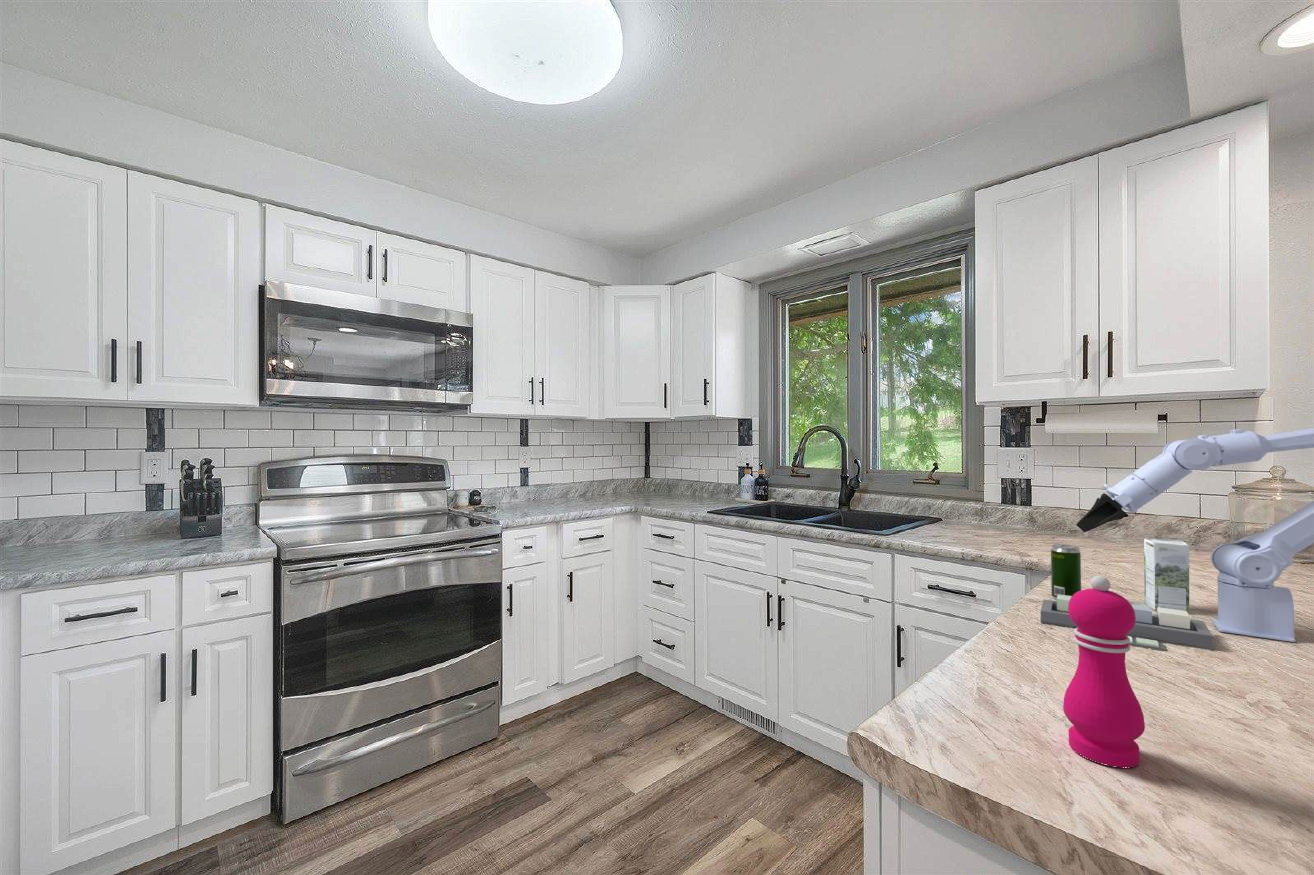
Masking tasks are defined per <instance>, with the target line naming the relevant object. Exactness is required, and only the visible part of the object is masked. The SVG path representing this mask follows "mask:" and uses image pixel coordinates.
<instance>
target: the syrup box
mask: <svg viewBox="0 0 1314 875" xmlns="http://www.w3.org/2000/svg"><path fill="white" fill-rule="evenodd" d="M1143 554H1144V555H1143V559H1144V561H1143V562H1144V563H1143V564H1144V569H1143V570H1144V575H1143V576H1144V604H1145V606H1150V608H1151V610H1154V611H1157V607H1159V608H1167V609H1174V610H1182V611H1187V613H1188V614H1190V545H1189V544H1188V543H1187V542H1185V541H1184V540H1183V541H1182V540H1179V539H1164V538H1162V539H1161V538H1144V540H1143Z"/></svg>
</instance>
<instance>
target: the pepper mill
mask: <svg viewBox="0 0 1314 875" xmlns="http://www.w3.org/2000/svg"><path fill="white" fill-rule="evenodd" d="M1090 586H1091V588H1086V589H1081V591H1078V592H1076V593H1075V594H1074V595H1073V596H1072V597H1071V598H1070V601H1069V604H1068V614H1069V616H1070V618H1071V620H1072V621H1073V622H1074V623H1075V624H1076V625H1077V627H1078V628H1073V633H1074V637H1073V641H1074V642H1075V643H1076V644H1077V646H1078V663H1077V667H1076V671H1075V673H1074V675H1073V677H1072V678H1071V681H1070V683H1068V684H1069V685H1068V686H1067V688H1066V689H1065V694H1064V696H1063V703H1062V704H1063V705H1062V711H1063V713H1064V715H1065V717H1066V718H1067V720H1068V721H1069V722H1070V723H1071V724H1072V726H1070V727H1069V728H1068V745H1069V747H1070V746H1071V747H1070V749H1071V748H1072V749H1073V750H1075V751H1076V752H1077V753H1078V754H1081V755H1082V756H1084V757H1086V758H1088V759H1091V760H1093V761H1096V762H1099V763H1103V764H1107V765H1109V766H1116V767H1122V768H1121V769H1129V768H1128V767H1133V768H1135V767H1134V766H1136V765H1137V766H1138V765H1140V762H1141V760H1140V758H1141V757H1140V747H1139V744H1138V742H1136V740H1137V739H1138V738H1140V737H1141V736H1142V735H1143V734H1144V732H1145V729H1146V725H1145V716H1144V712H1143V710H1142V706H1141V704H1140V702H1139V700H1138V698H1137V696H1136V694H1135V692H1134V691H1133V688H1132V685H1131V684H1130V680H1129V676H1128V673H1127V668H1126V653H1129V652H1130V650H1131V647H1130V646H1131V645H1129V642H1130V639H1129V637H1128V636H1126V634H1127V633H1128V632H1129V631H1130V630H1132V629H1133V627H1134V626H1135V621H1136V617H1135V611H1134V609H1133V607H1132V605H1131V604H1132V603H1130V602H1129V600H1128V599H1126V598H1125V597H1124V596H1122V595H1121V594H1119V593H1117V592H1114V591H1111V590H1110V588H1111V582H1110V580H1109V579H1108V578H1107V577H1105V576H1102V575H1096V576H1093V577H1092V578H1091V579H1090ZM1072 749H1071V750H1072ZM1073 750H1072V751H1073ZM1076 752H1075V753H1076ZM1077 753H1076V754H1077ZM1078 754H1077V755H1078ZM1082 756H1081V757H1082ZM1086 758H1085V759H1086ZM1088 759H1087V760H1088ZM1109 766H1108V767H1109ZM1137 766H1136V767H1137ZM1123 767H1124V768H1123ZM1125 767H1127V768H1125Z"/></svg>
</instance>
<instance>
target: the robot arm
mask: <svg viewBox="0 0 1314 875" xmlns="http://www.w3.org/2000/svg"><path fill="white" fill-rule="evenodd" d="M1304 449H1314V427H1310V428H1304V429H1299V430H1293V431H1286V432H1285V431H1284V432H1280V433H1274V434H1273V433H1272V434H1268V435H1261V434H1258V433H1256V432H1254V431H1251V430H1243V428H1238V429H1231V430H1229V433H1225V434H1217V435H1210V436H1208V435H1207V434H1199V435H1197V438H1192V439H1178V440H1175V441H1173V442H1171V443H1170V442H1168V443H1167V444H1166V445H1165V446H1164V447H1163V450H1162V453H1160V454H1159V455H1158V456H1156V457H1155V458H1152V459H1150V460H1149V461H1148V462H1146V463H1145V464H1143V465H1141V467H1139V468H1138V469H1136V470H1135V471H1134V472H1131V474H1129V475H1128V476H1126V477H1124V479H1122V480H1121V481H1119V482H1118V483H1116V484H1115V485H1114V486H1110V485H1108V484H1107V483H1105V484H1104V485H1102V488H1103V489H1104V490H1105V491H1106V493H1105V492H1103V493H1102V494H1101V495H1100V497H1097V498H1096V499H1095V502H1094V504H1093V505H1092V507H1091V508H1090V509H1089V511H1088V512H1087V513H1086V514H1084V515H1083V516H1082V518H1081V519H1079V521H1078V522H1077V523H1076V524H1075V525H1076V527H1078V528H1079V529H1080V530H1081V531H1082V532H1083V533H1087V532H1090V531H1091V530H1094V529H1096V528H1098V527H1101V526H1103V525H1104V524H1108V523H1110V522H1114V521H1119V520H1122V519H1124V518H1129V514H1128V513H1127V512H1129V513H1130V514H1135V513H1137V512H1138V510H1139V509H1140V508H1142V507H1144V506H1146V505H1147V504H1148V503H1149V502H1151V501H1152V500H1154V499H1155V498H1157V497H1158V496H1160V495H1161V494H1163V493H1164V492H1166V491H1167V490H1169V489H1170V488H1172V487H1173V486H1175V485H1176V484H1178V483H1179V482H1180V481H1181V480H1182V479H1184V478H1186V477H1187V476H1189V475H1191V473H1193V470H1194V471H1197V470H1201V471H1205V470H1207V469H1209V468H1210V467H1221V466H1228V465H1236V464H1244V463H1254V462H1259V461H1260V460H1262V459H1263V458H1264V457H1265V456H1266V455H1267V454H1268V453H1276V452H1285V451H1294V450H1304ZM1125 511H1127V512H1125ZM1313 544H1314V500H1312V501H1311V502H1310V503H1307V504H1306V505H1305V506H1303V507H1301V508H1300V509H1298V510H1296V511H1295V512H1293V513H1291V514H1289V515H1288V516H1287V517H1284V518H1283V519H1282V520H1280V521H1279V522H1277V523H1274V524H1273V525H1271V526H1270V527H1268V528H1266V529H1265V530H1263V531H1261V532H1259V533H1255V534H1251V535H1246V536H1244V537H1242V538H1240V539H1238V540H1237V541H1234V542H1228V543H1223V544H1220V545H1218V546H1217V547H1215V548H1214V549H1213V551H1212V552H1211V555H1210V561H1211V564H1212V565H1213V567H1214V568H1215V569H1216V570H1217V571H1218V572H1219V574H1218V575H1217V577H1216V578H1217V584H1216V585H1217V586H1216V587H1217V616H1218V617H1217V619H1216V618H1212V619H1211V620H1212V623H1213V624H1214V626H1215V627H1216V628H1217V630H1218V631H1219V632H1222V633H1227V634H1235V635H1236V634H1237V635H1242V636H1249V637H1254V638H1255V637H1257V638H1261V639H1270V640H1277V641H1283V642H1292V643H1296V642H1297V641H1296V639H1295V607H1294V606H1295V605H1294V604H1295V603H1294V599H1293V598H1294V597H1293V594H1292V591H1291V589H1289V588H1288V587H1282V586H1276V585H1275V584H1274V583H1275V582H1276V581H1278V579H1279V578H1280V576H1281V574H1282V573H1283V571H1284V570H1285V569H1287V568H1288V567H1290V566H1292V564H1293V562H1294V555H1296V554H1297V553H1299V552H1301V551H1302V550H1304V549H1306V548H1307V547H1309V546H1311V545H1313Z"/></svg>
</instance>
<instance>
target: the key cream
mask: <svg viewBox="0 0 1314 875" xmlns="http://www.w3.org/2000/svg"><path fill="white" fill-rule="evenodd" d="M1156 615H1157V620H1158V622H1159V625H1165V626H1172V627H1179V628H1186V629H1190V619H1191V617H1190V613H1187V611H1182V610H1174V609H1167V608H1159V607H1157V610H1156Z"/></svg>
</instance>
